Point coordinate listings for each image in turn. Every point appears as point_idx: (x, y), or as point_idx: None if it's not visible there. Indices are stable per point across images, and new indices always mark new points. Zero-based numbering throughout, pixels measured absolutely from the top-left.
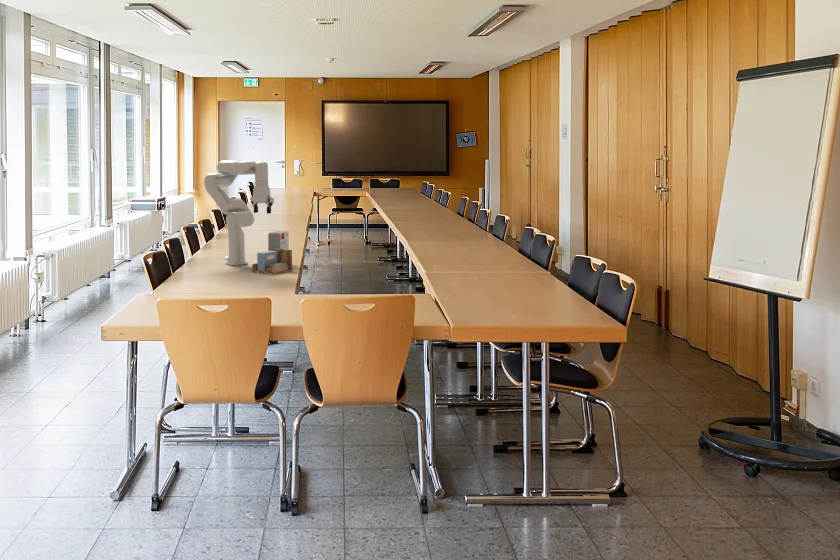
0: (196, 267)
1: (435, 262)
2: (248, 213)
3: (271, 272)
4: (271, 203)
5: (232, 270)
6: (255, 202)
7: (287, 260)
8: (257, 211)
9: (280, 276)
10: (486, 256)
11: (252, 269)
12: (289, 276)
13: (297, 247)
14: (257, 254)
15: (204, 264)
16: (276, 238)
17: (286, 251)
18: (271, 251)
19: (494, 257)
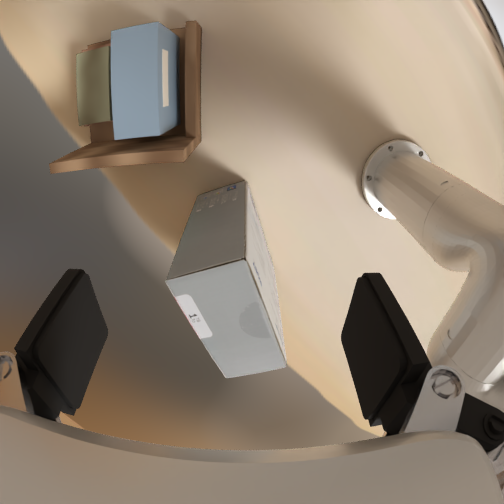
0: (465, 56)
1: None
2: (474, 374)
3: (101, 42)
4: None
5: (310, 23)
6: (379, 448)
7: (89, 148)
8: (347, 337)
9: (50, 33)
10: None
11: (199, 25)
12: (30, 55)
13: (364, 427)
14: (158, 23)
15: (478, 127)
16: (191, 255)
17: (73, 158)
18: (130, 110)
19: None
